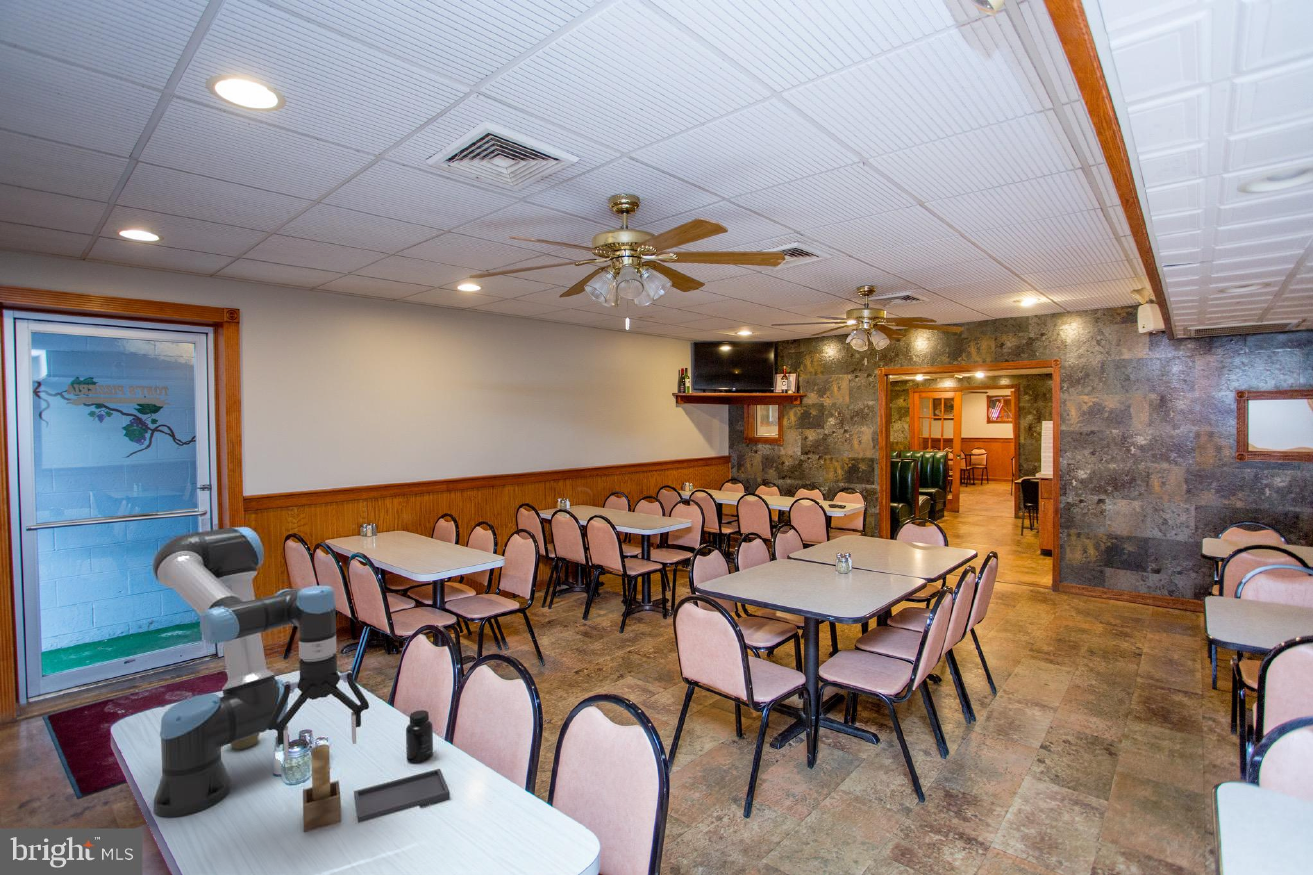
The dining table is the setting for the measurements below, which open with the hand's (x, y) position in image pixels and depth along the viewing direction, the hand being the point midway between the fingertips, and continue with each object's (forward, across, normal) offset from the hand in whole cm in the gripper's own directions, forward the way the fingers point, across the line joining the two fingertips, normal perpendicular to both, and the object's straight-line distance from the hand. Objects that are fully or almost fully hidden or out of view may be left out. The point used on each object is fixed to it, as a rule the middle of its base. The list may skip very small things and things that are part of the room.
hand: (321, 749), depth 146 cm
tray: (+17, +17, 0) cm, 24 cm away
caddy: (+17, 0, 0) cm, 17 cm away
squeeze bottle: (+16, -18, +52) cm, 57 cm away
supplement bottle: (+17, +24, +18) cm, 34 cm away
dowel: (+16, 0, 0) cm, 16 cm away
